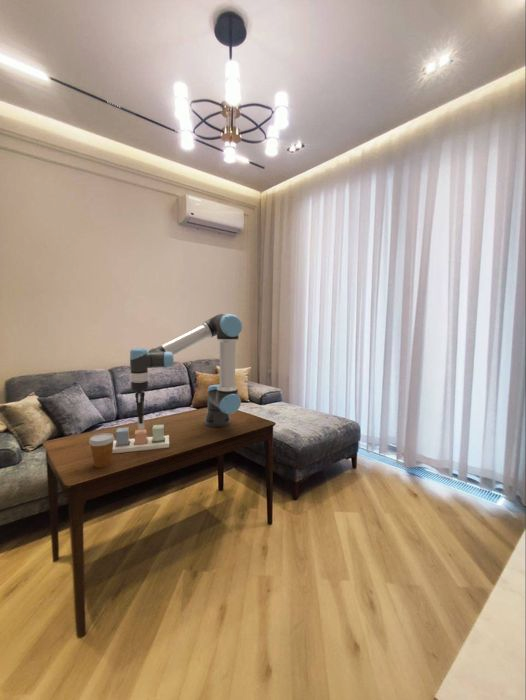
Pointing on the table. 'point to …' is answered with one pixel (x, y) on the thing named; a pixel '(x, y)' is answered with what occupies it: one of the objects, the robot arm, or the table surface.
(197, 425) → the table surface
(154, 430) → the sage block
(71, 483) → the table surface
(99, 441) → the disposable coffee cup
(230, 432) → the table surface
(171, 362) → the robot arm
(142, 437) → the terracotta block
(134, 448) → the board
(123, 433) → the slate block
